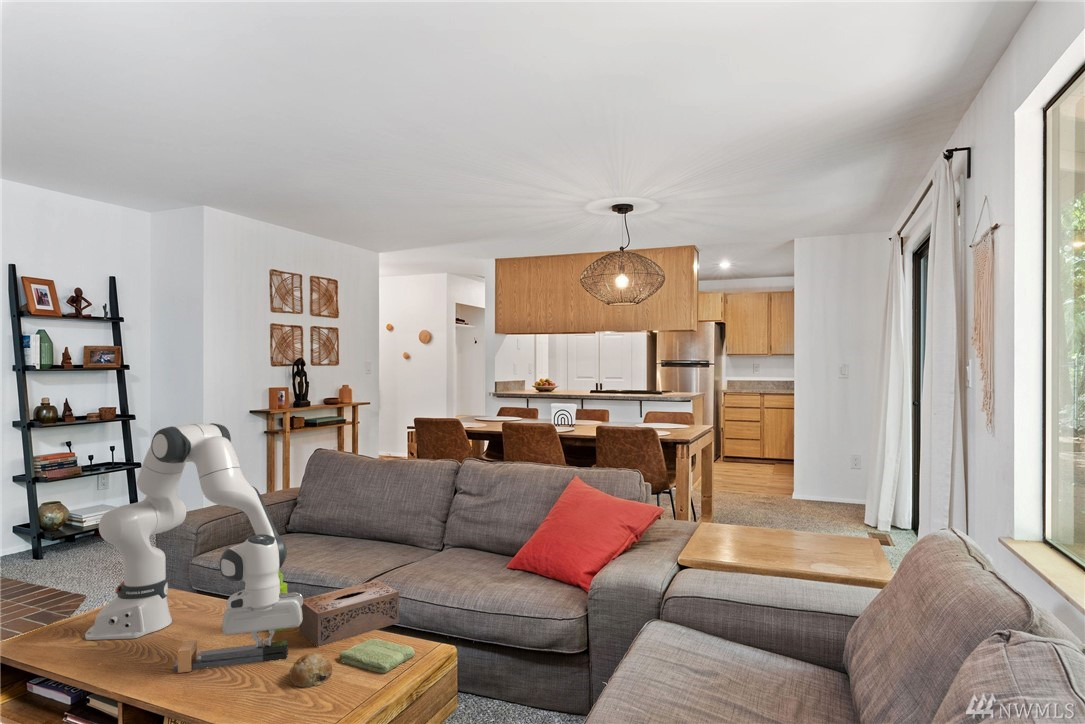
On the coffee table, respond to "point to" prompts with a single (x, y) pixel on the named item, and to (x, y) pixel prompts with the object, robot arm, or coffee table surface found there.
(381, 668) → the washcloth
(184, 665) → the tan hook block
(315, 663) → the bread roll
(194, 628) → the coffee table surface
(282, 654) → the tongs lower arm
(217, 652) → the tongs upper arm
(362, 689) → the coffee table surface
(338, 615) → the tissue box cover
